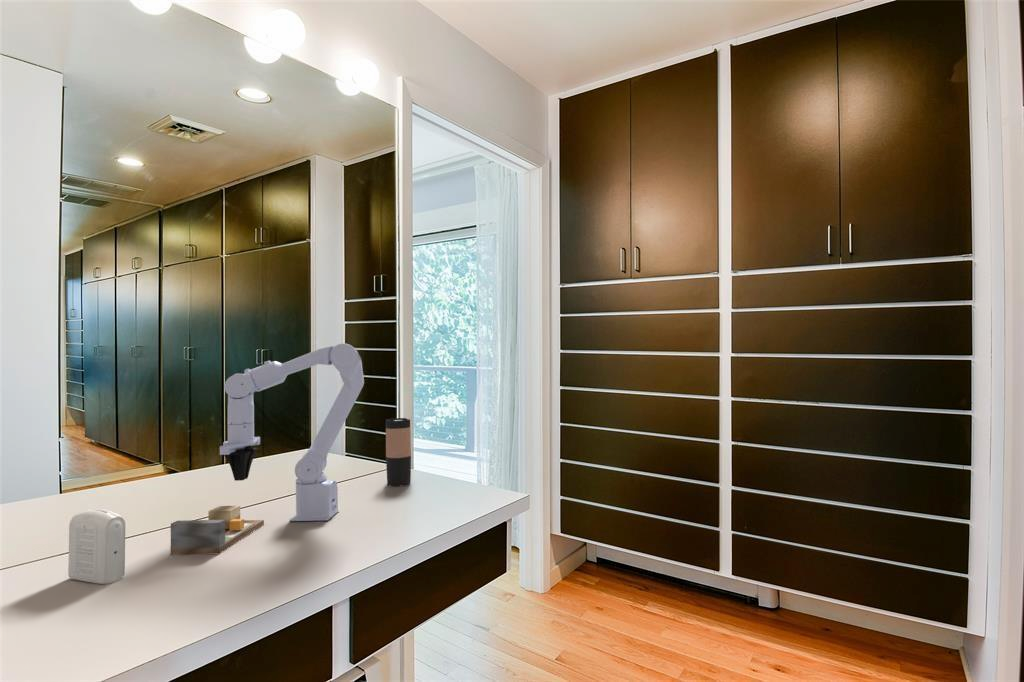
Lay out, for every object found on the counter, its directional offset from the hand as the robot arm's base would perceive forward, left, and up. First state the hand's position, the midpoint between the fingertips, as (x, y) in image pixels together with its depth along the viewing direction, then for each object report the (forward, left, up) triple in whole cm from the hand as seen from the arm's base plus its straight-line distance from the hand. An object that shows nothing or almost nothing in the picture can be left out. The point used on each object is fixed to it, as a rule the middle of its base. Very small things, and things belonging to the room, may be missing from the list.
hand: (241, 479), depth 124 cm
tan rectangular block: (-1, +7, -9) cm, 11 cm away
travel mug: (-30, -37, -11) cm, 48 cm away
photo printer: (+10, +31, -11) cm, 34 cm away
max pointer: (-4, +10, -9) cm, 14 cm away
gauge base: (-2, +11, -10) cm, 15 cm away
